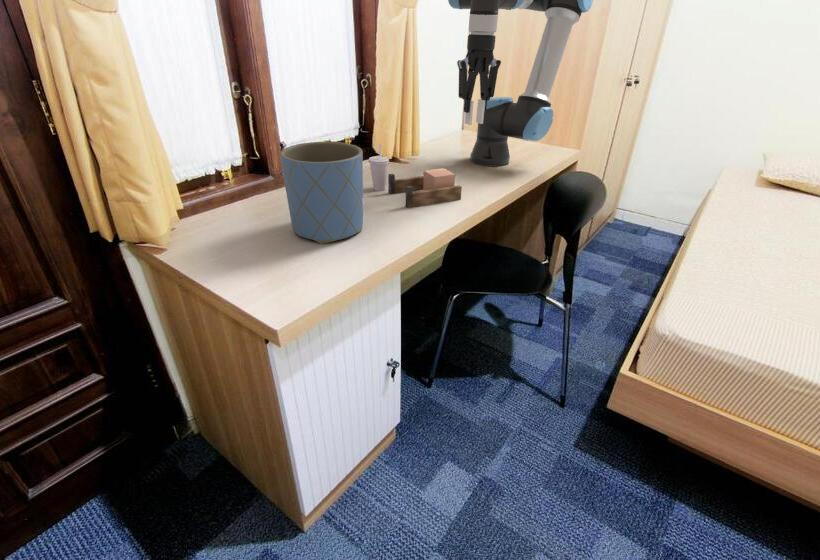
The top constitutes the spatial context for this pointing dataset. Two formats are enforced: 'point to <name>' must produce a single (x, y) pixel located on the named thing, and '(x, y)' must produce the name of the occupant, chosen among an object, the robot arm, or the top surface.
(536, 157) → the top surface
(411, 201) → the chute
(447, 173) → the block
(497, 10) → the robot arm
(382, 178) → the smoothie
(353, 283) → the top surface
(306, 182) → the planter
